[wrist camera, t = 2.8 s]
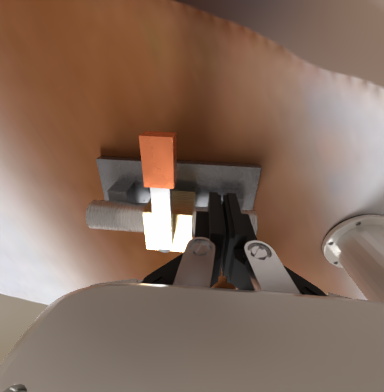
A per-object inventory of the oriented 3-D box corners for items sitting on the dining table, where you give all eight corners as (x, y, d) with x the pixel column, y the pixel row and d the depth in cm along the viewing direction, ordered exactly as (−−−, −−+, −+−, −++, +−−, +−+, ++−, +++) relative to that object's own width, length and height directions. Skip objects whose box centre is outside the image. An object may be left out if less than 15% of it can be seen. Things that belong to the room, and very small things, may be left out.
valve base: (259, 164, 30) (278, 194, 22) (244, 232, 37) (255, 276, 29) (100, 156, 32) (60, 180, 23) (114, 223, 39) (87, 261, 30)
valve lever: (178, 241, 26) (175, 257, 24) (157, 239, 26) (151, 255, 24) (177, 131, 19) (172, 137, 16) (148, 129, 19) (138, 135, 17)
